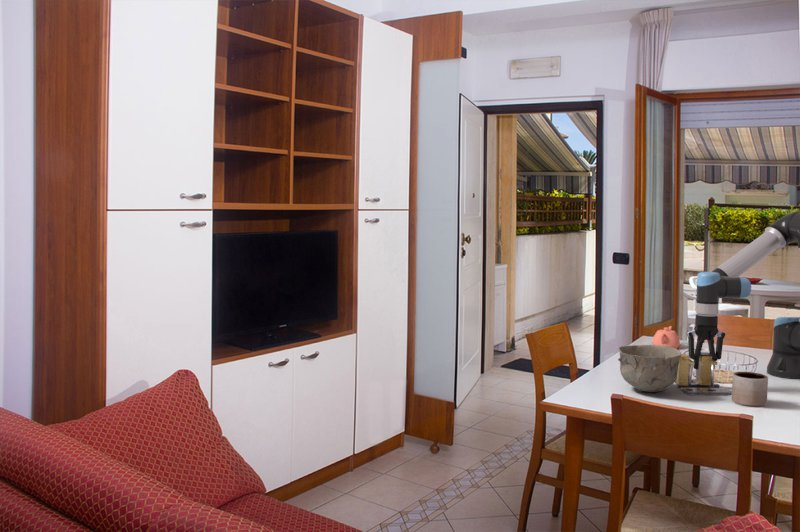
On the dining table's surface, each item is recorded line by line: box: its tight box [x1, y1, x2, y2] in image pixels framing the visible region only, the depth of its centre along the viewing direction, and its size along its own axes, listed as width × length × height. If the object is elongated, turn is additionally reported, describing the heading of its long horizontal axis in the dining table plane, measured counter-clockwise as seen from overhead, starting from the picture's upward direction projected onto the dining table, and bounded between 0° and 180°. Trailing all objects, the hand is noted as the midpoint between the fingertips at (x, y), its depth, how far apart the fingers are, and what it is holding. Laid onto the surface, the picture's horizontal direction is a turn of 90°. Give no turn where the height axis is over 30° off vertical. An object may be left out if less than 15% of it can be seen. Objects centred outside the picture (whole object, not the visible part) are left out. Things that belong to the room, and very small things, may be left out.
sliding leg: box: [695, 351, 718, 387], centre depth 259 cm, size 4×12×11 cm, turn 179°
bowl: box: [617, 344, 683, 393], centre depth 257 cm, size 22×22×15 cm
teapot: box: [651, 325, 681, 350], centre depth 336 cm, size 12×18×10 cm
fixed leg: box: [674, 353, 694, 387], centre depth 259 cm, size 4×12×11 cm, turn 179°
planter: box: [730, 371, 769, 408], centre depth 243 cm, size 11×11×10 cm
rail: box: [675, 382, 721, 389], centre depth 263 cm, size 15×2×1 cm, turn 89°
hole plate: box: [681, 387, 732, 396], centre depth 255 cm, size 16×6×1 cm, turn 89°
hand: (703, 377), depth 263 cm, fingers closed on sliding leg, 3 cm apart
